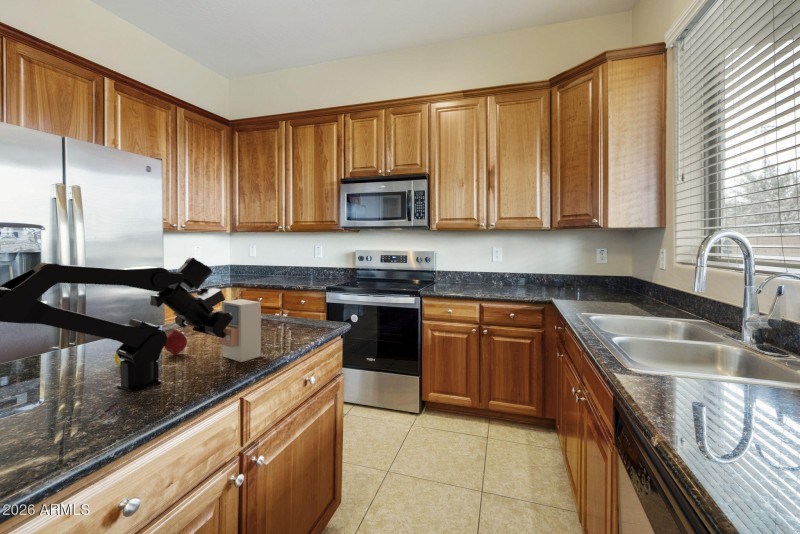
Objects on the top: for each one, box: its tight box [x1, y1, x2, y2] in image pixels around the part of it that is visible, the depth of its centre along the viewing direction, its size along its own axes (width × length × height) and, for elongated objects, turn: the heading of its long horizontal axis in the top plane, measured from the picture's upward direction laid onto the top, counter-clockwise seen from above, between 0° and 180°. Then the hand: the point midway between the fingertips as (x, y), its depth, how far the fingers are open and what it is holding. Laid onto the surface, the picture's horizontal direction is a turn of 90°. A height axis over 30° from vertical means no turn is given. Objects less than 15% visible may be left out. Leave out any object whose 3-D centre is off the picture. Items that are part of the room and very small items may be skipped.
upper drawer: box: [224, 305, 238, 325], centre depth 105 cm, size 3×6×5 cm, turn 59°
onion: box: [164, 327, 188, 356], centre depth 108 cm, size 6×6×8 cm
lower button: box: [218, 326, 239, 347], centre depth 104 cm, size 3×6×5 cm, turn 59°
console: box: [221, 298, 262, 363], centre depth 108 cm, size 6×9×16 cm
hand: (223, 336), depth 103 cm, fingers closed
